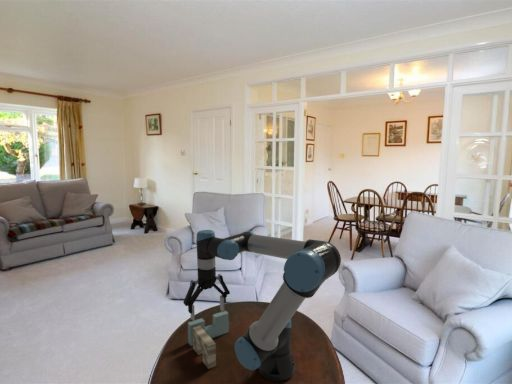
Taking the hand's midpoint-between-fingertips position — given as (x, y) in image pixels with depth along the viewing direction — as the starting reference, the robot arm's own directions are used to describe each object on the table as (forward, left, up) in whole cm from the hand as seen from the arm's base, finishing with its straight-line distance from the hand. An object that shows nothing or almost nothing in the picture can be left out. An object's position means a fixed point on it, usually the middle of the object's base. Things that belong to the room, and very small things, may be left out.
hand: (207, 315), depth 129 cm
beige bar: (+1, +1, -20) cm, 20 cm away
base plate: (+13, -7, -20) cm, 25 cm away
